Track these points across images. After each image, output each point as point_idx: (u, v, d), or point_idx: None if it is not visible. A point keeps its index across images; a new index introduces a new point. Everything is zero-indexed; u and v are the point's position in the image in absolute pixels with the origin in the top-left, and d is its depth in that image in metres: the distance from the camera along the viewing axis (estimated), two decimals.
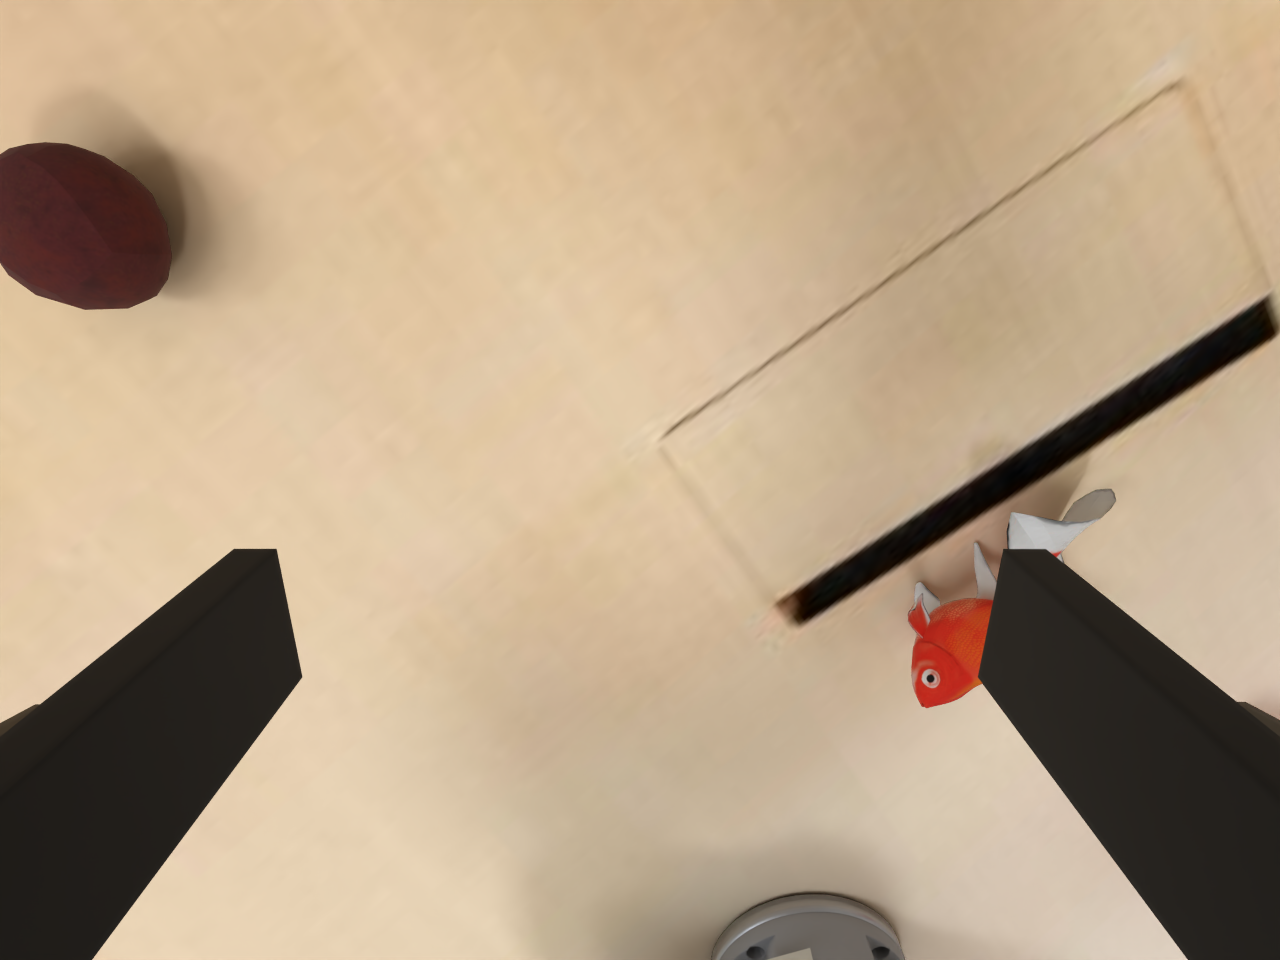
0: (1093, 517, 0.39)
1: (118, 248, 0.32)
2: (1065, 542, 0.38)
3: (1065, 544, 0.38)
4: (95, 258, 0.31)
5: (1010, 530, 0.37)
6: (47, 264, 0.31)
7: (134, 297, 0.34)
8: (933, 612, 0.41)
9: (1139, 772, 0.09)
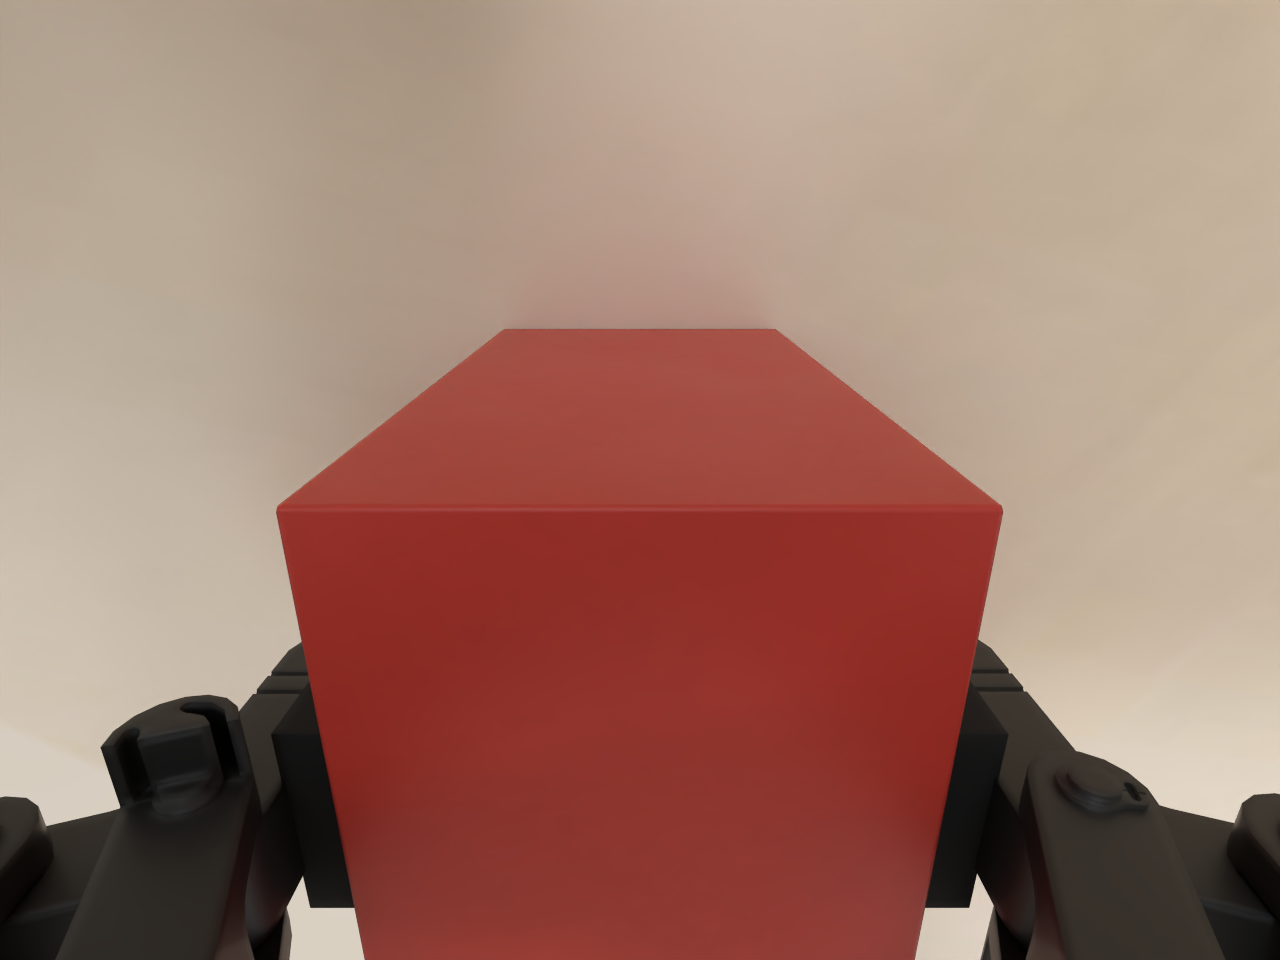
0: None
1: None
2: None
3: None
4: None
5: None
6: None
7: None
8: None
9: None
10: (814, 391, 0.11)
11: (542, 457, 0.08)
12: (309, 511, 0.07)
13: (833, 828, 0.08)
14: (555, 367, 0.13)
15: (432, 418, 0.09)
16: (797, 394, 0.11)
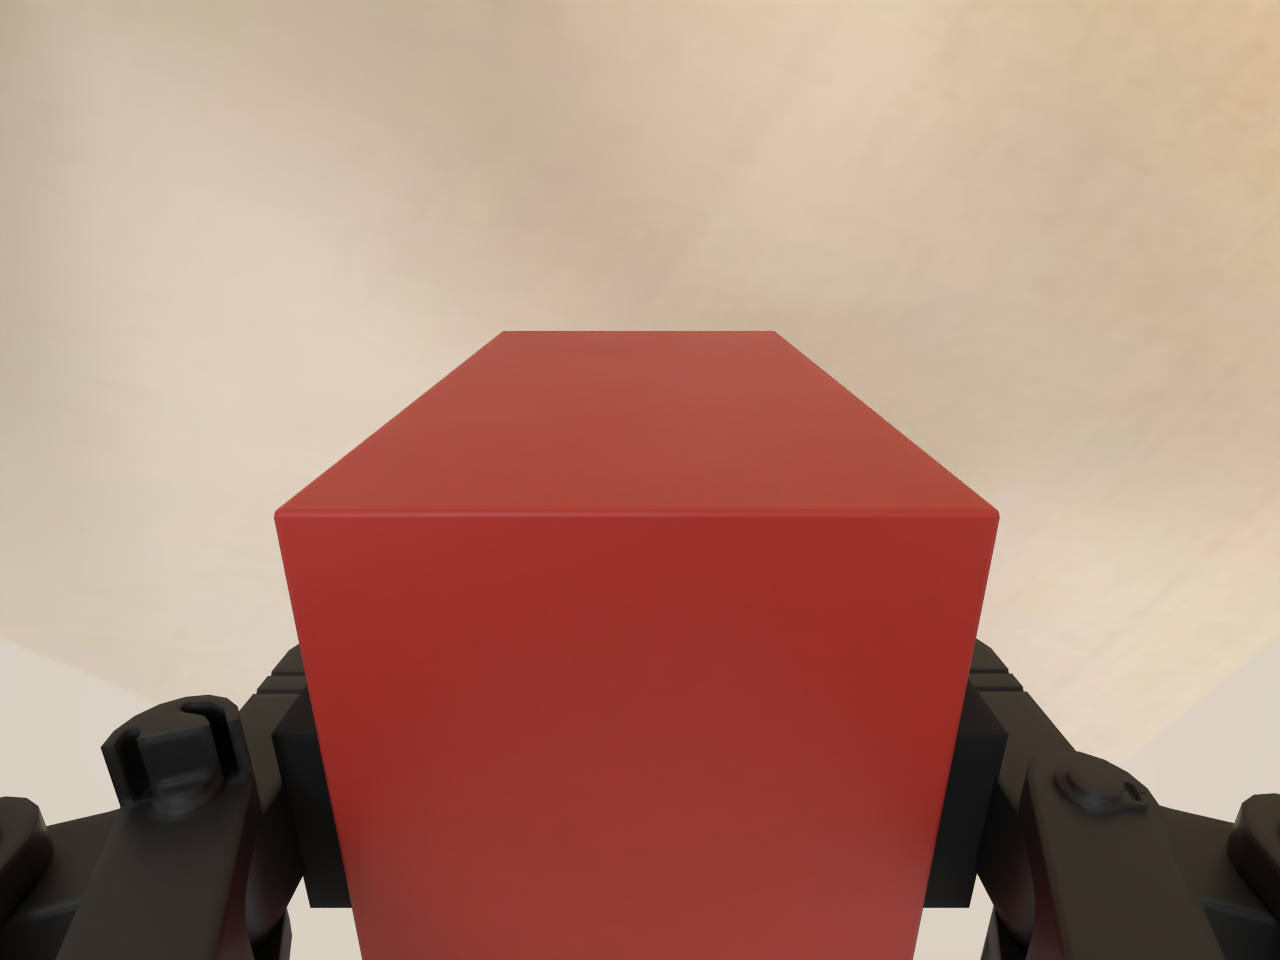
0: None
1: None
2: None
3: None
4: None
5: None
6: None
7: None
8: None
9: None
10: (812, 394, 0.11)
11: (539, 461, 0.08)
12: (307, 516, 0.07)
13: (830, 832, 0.08)
14: (554, 370, 0.13)
15: (430, 421, 0.09)
16: (794, 397, 0.11)
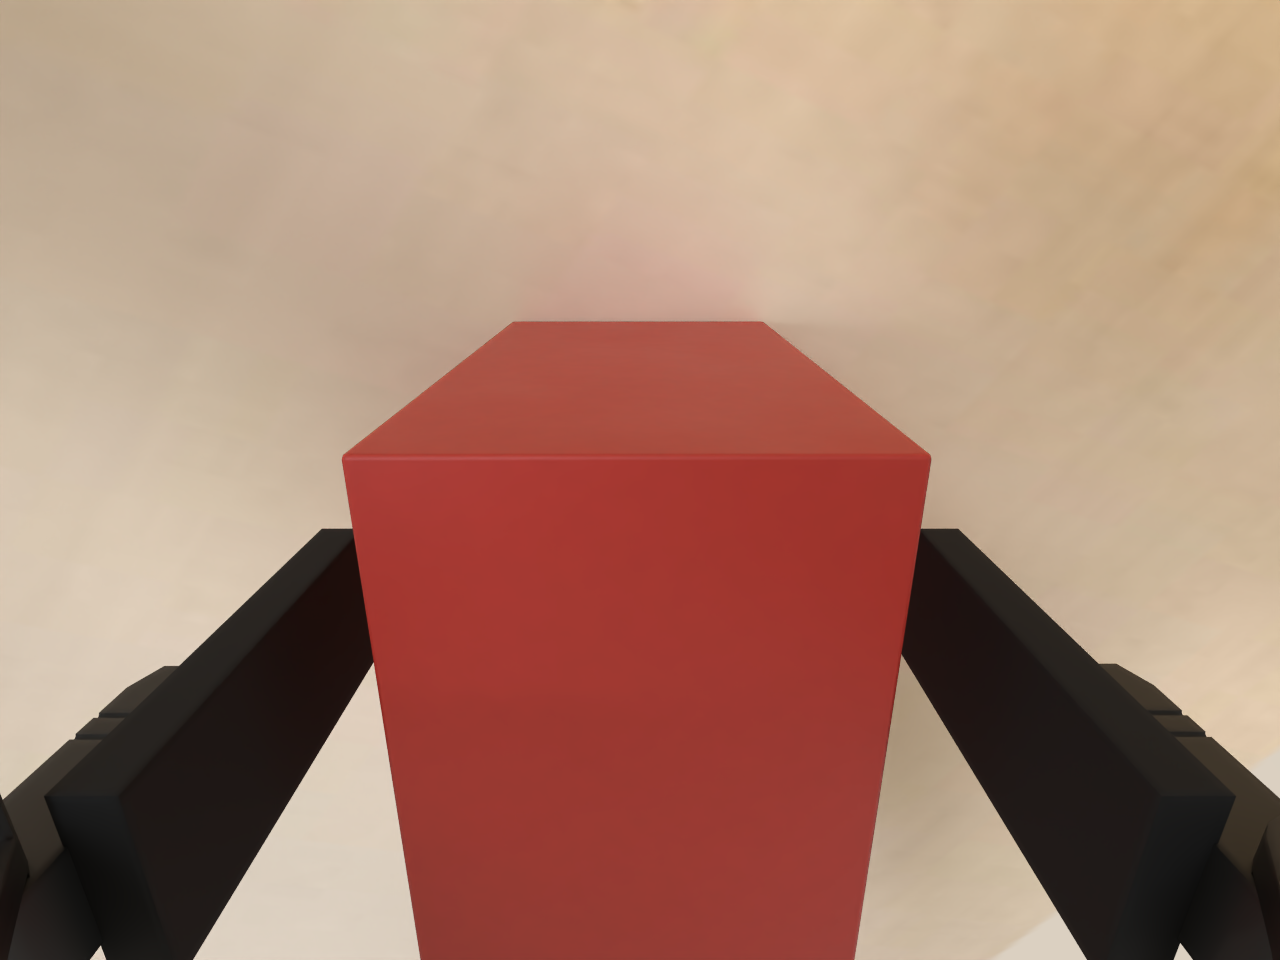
0: None
1: None
2: None
3: None
4: None
5: None
6: None
7: None
8: None
9: (1012, 726, 0.10)
10: (790, 372, 0.12)
11: (555, 421, 0.09)
12: (368, 459, 0.08)
13: (799, 732, 0.09)
14: (562, 353, 0.14)
15: (458, 393, 0.11)
16: (775, 374, 0.12)
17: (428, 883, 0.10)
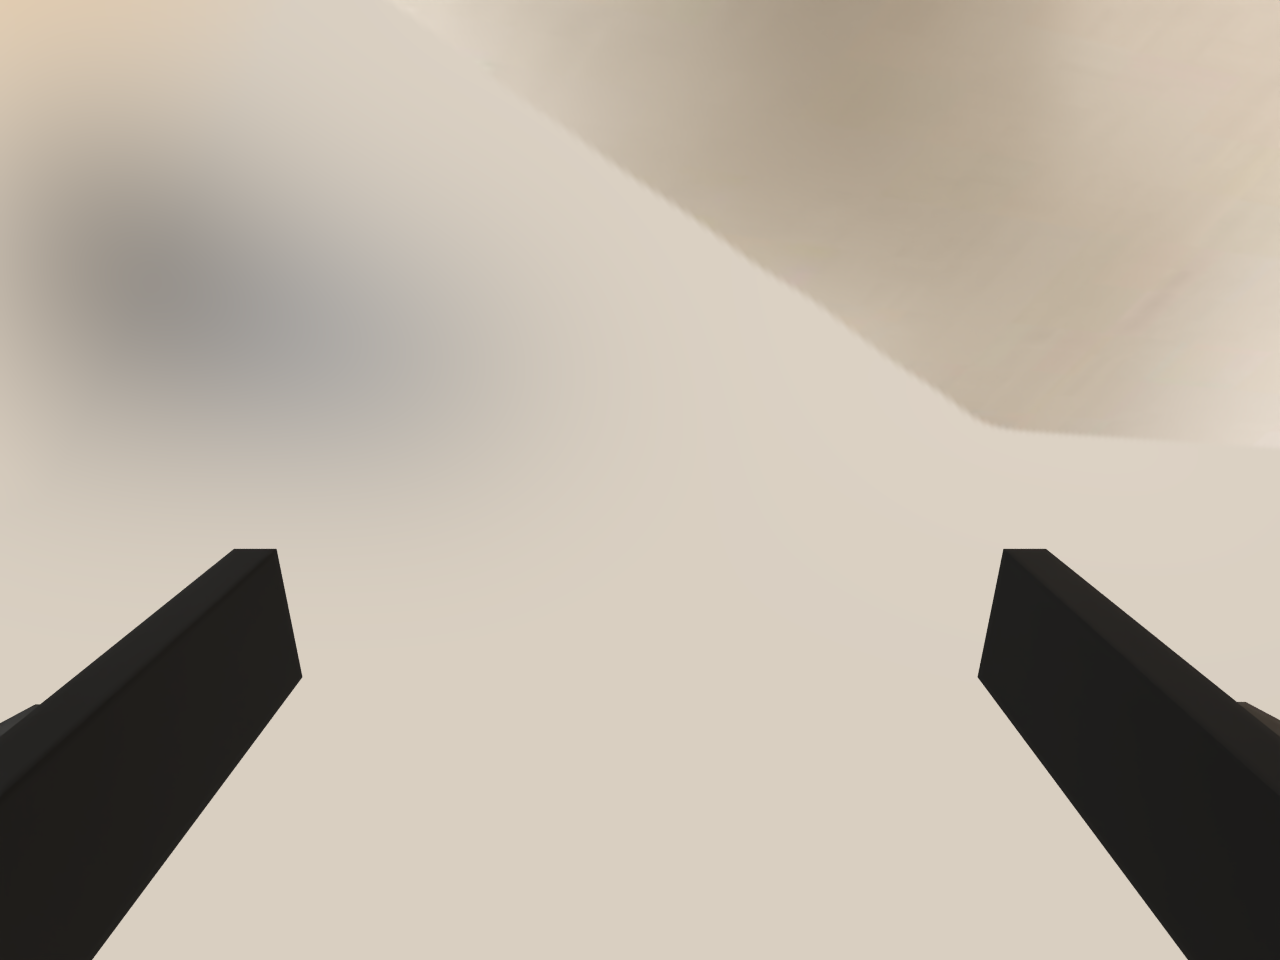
0: None
1: None
2: None
3: None
4: None
5: None
6: None
7: None
8: None
9: (1138, 772, 0.09)
10: None
11: None
12: None
13: None
14: None
15: None
16: None
17: None
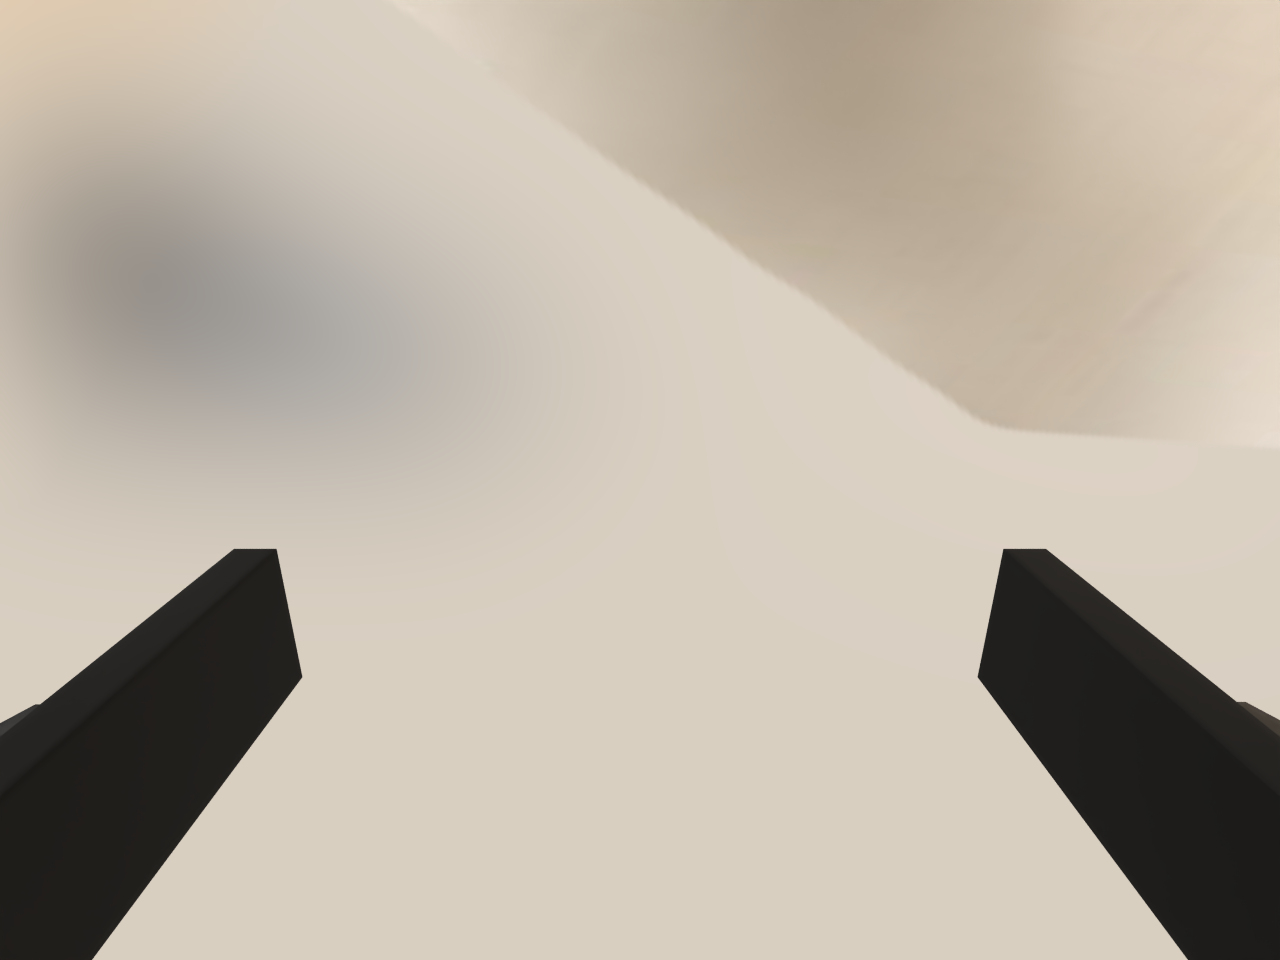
0: None
1: None
2: None
3: None
4: None
5: None
6: None
7: None
8: None
9: (1138, 772, 0.09)
10: None
11: None
12: None
13: None
14: None
15: None
16: None
17: None
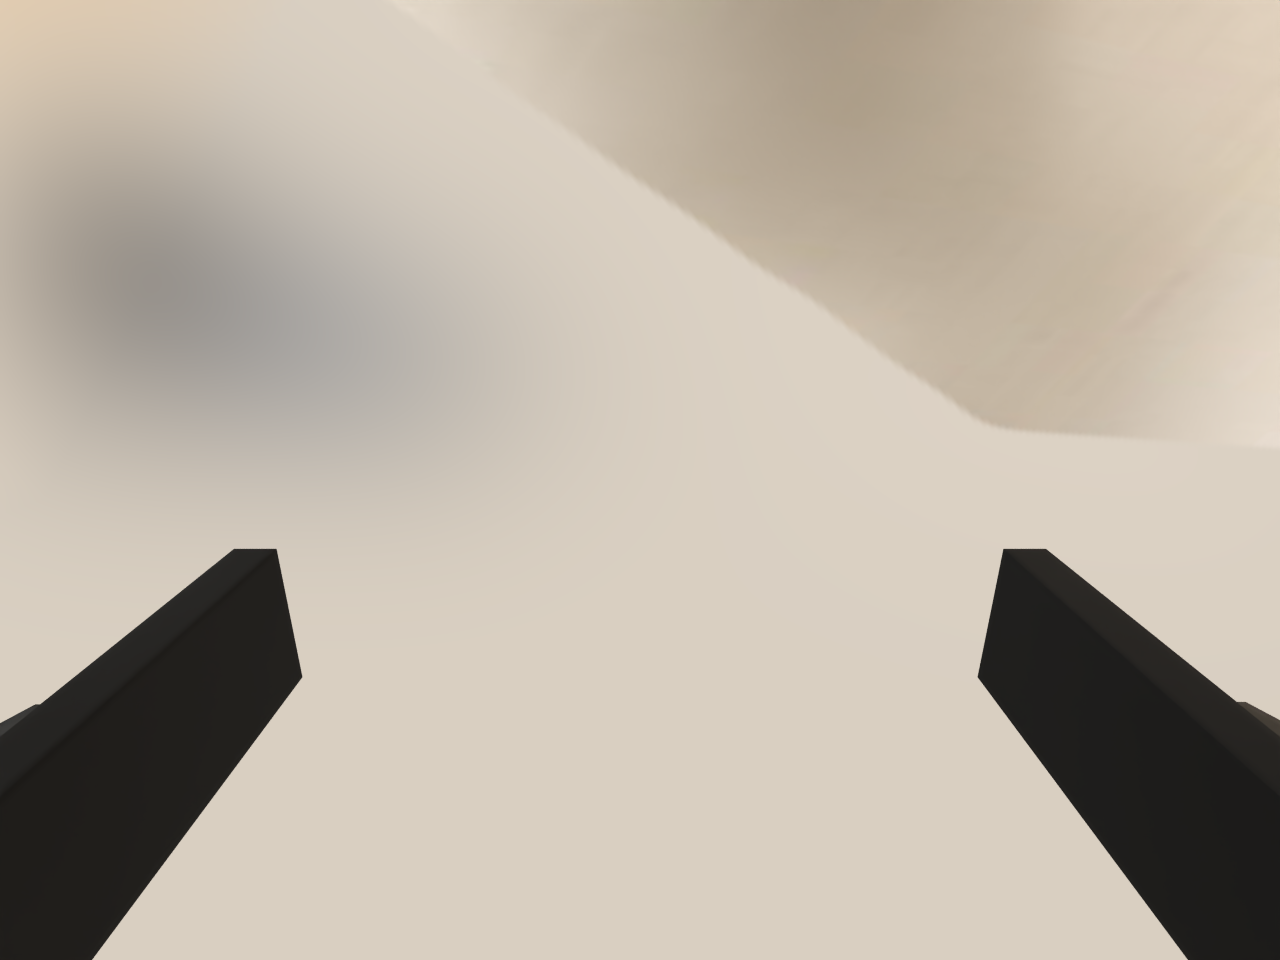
0: None
1: None
2: None
3: None
4: None
5: None
6: None
7: None
8: None
9: (1138, 772, 0.09)
10: None
11: None
12: None
13: None
14: None
15: None
16: None
17: None
